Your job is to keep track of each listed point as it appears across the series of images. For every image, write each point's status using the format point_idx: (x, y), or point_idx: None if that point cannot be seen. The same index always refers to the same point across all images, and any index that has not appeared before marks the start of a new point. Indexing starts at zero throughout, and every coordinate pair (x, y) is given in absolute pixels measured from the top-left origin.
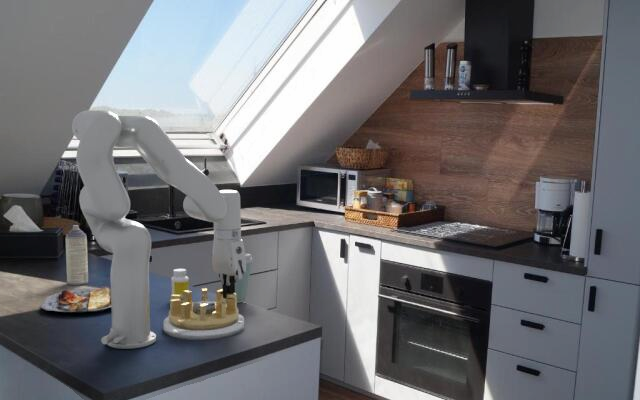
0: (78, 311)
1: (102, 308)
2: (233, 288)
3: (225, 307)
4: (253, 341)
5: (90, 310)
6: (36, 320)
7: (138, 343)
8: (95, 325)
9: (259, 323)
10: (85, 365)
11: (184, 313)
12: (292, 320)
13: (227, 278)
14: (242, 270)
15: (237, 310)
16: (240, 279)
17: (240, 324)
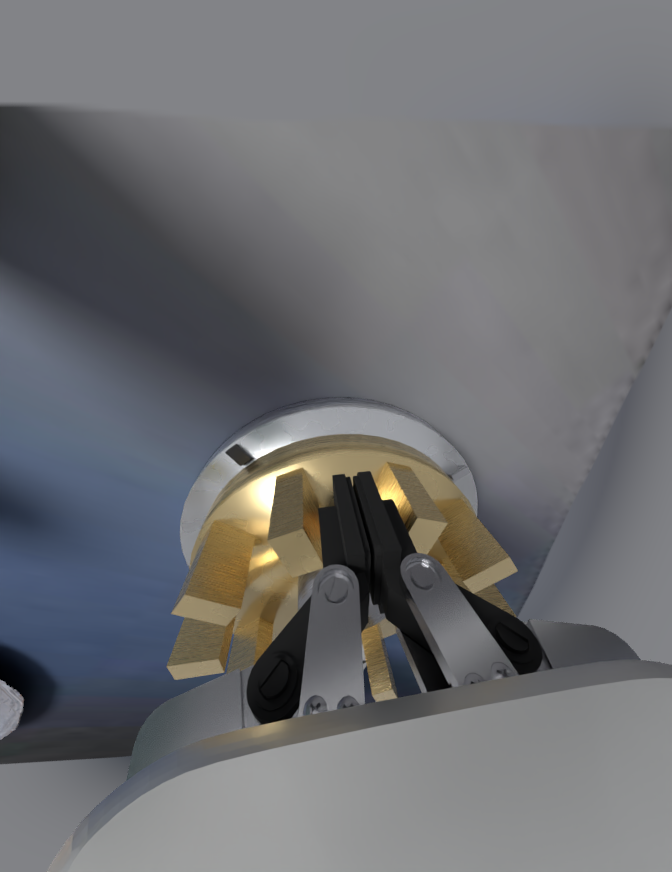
0: (17, 716)
1: (5, 687)
2: (407, 539)
3: (501, 597)
4: (548, 482)
5: (17, 702)
6: (39, 738)
7: (364, 664)
8: (145, 681)
9: (454, 353)
10: (373, 700)
11: (389, 662)
12: (572, 162)
13: (435, 687)
14: (660, 720)
15: (445, 484)
16: (603, 646)
17: (473, 479)
